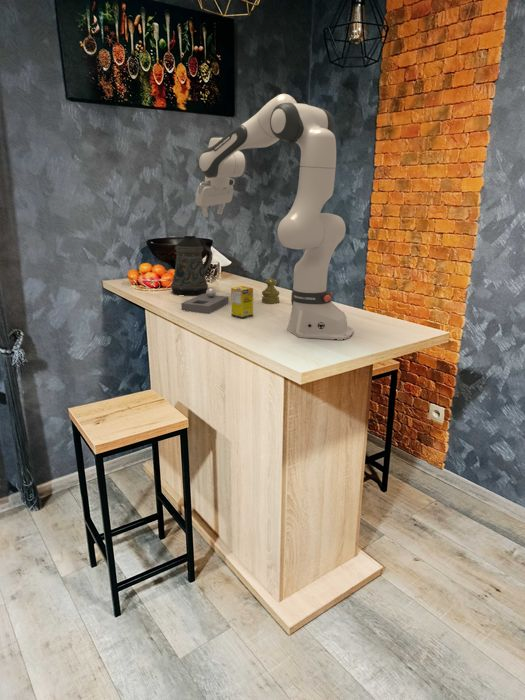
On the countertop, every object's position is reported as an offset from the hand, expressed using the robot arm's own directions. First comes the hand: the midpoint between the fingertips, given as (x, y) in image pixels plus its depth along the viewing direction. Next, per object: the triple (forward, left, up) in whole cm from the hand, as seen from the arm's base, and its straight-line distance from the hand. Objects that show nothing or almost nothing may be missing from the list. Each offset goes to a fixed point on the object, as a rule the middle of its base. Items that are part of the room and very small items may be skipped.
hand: (212, 215), depth 200 cm
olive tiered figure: (-24, -5, -35) cm, 43 cm away
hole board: (-3, +14, -35) cm, 38 cm away
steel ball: (-3, +9, -30) cm, 31 cm away
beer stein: (+16, -9, -35) cm, 40 cm away
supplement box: (-22, +21, -35) cm, 46 cm away
